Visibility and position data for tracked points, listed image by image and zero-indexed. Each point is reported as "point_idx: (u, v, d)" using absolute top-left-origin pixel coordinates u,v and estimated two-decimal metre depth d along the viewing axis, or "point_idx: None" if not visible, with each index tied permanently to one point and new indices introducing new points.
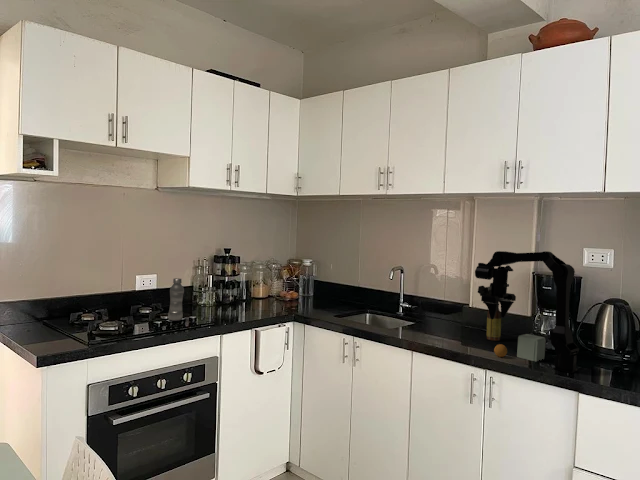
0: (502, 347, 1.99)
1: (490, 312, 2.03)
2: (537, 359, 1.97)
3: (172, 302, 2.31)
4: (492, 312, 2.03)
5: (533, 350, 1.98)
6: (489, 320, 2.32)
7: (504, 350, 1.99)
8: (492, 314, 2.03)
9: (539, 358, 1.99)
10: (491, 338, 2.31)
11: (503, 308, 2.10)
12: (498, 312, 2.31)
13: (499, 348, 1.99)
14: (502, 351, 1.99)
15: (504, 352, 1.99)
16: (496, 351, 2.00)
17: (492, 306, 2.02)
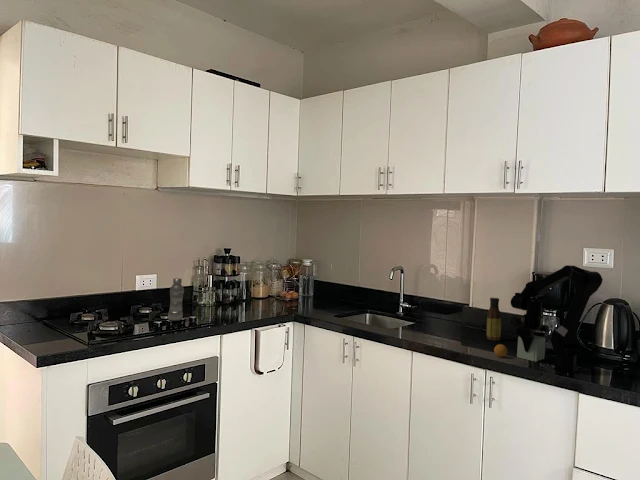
0: (502, 347, 1.99)
1: (525, 345, 1.99)
2: (537, 359, 1.97)
3: (172, 302, 2.31)
4: (527, 345, 1.98)
5: (533, 350, 1.98)
6: (489, 320, 2.32)
7: (504, 350, 1.99)
8: (527, 347, 1.98)
9: (539, 358, 1.99)
10: (491, 338, 2.31)
11: None
12: (498, 312, 2.31)
13: (499, 348, 1.99)
14: (502, 351, 1.99)
15: (504, 352, 1.99)
16: (496, 351, 2.00)
17: (527, 339, 1.98)
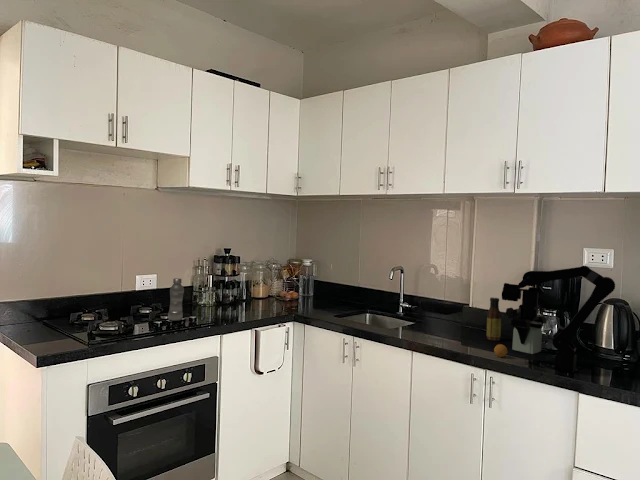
0: (502, 347, 1.99)
1: (520, 336, 1.90)
2: (533, 351, 1.89)
3: (172, 302, 2.31)
4: (523, 336, 1.89)
5: (529, 342, 1.89)
6: (489, 320, 2.32)
7: (504, 350, 1.99)
8: (523, 339, 1.90)
9: (535, 350, 1.90)
10: (491, 338, 2.31)
11: None
12: (498, 312, 2.31)
13: (499, 348, 1.99)
14: (502, 351, 1.99)
15: (504, 352, 1.99)
16: (496, 351, 2.00)
17: (523, 330, 1.89)
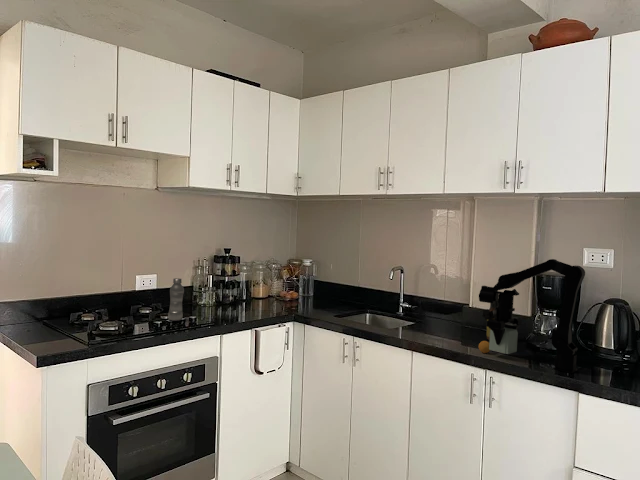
0: (479, 348, 2.07)
1: (496, 337, 1.97)
2: (509, 351, 1.96)
3: (172, 302, 2.31)
4: (498, 337, 1.97)
5: (504, 342, 1.96)
6: None
7: None
8: (498, 339, 1.97)
9: (511, 351, 1.97)
10: None
11: None
12: None
13: (480, 349, 2.06)
14: (479, 345, 2.06)
15: (479, 343, 2.07)
16: (483, 348, 2.04)
17: (498, 331, 1.96)
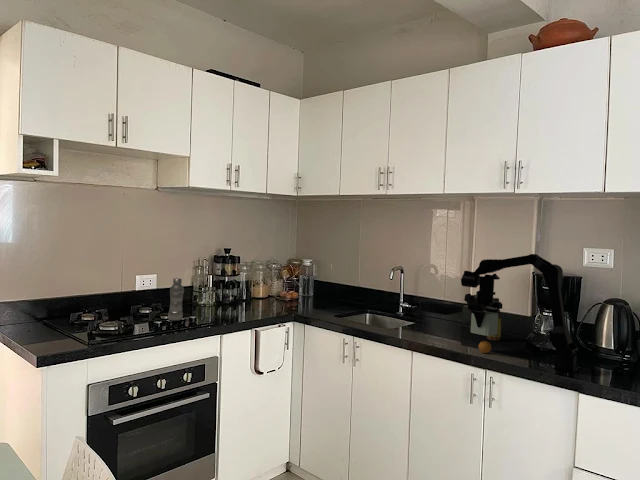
0: (479, 348, 2.07)
1: (477, 320, 2.04)
2: (489, 334, 2.02)
3: (172, 302, 2.31)
4: (479, 320, 2.03)
5: (485, 325, 2.02)
6: None
7: None
8: (479, 322, 2.03)
9: (491, 333, 2.03)
10: (491, 338, 2.31)
11: None
12: (498, 312, 2.31)
13: (480, 349, 2.06)
14: (479, 345, 2.06)
15: (479, 343, 2.07)
16: (483, 348, 2.04)
17: (479, 314, 2.03)
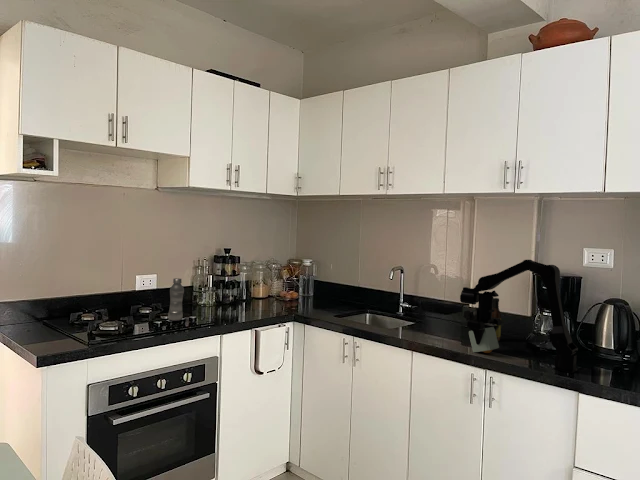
0: None
1: (476, 337, 2.04)
2: (491, 348, 2.01)
3: (172, 302, 2.31)
4: (478, 337, 2.03)
5: (484, 340, 2.02)
6: None
7: None
8: (478, 339, 2.03)
9: (493, 347, 2.03)
10: None
11: None
12: (498, 312, 2.31)
13: None
14: None
15: None
16: None
17: (478, 331, 2.03)
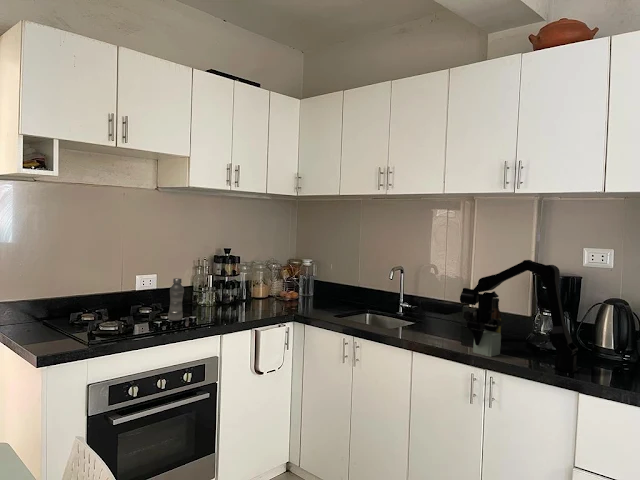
0: None
1: (475, 338, 2.03)
2: (492, 354, 2.01)
3: (172, 302, 2.31)
4: (477, 338, 2.03)
5: (488, 345, 2.01)
6: None
7: None
8: (477, 340, 2.03)
9: (494, 353, 2.02)
10: None
11: None
12: (498, 312, 2.31)
13: None
14: None
15: None
16: None
17: (477, 332, 2.03)
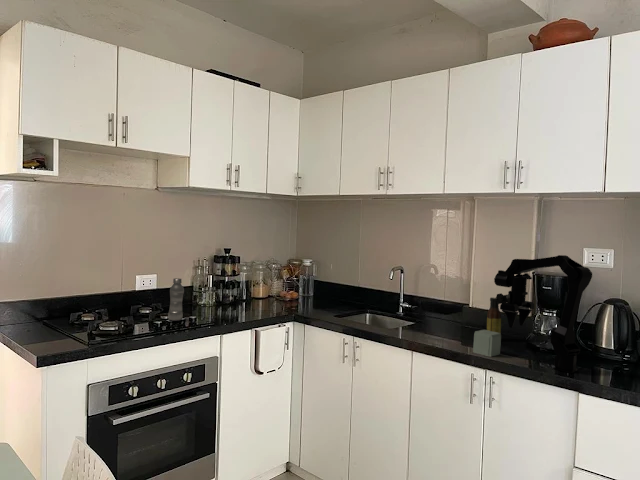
0: None
1: (509, 320, 2.01)
2: (492, 354, 2.01)
3: (172, 302, 2.31)
4: (511, 320, 2.01)
5: (488, 345, 2.01)
6: (489, 320, 2.32)
7: None
8: (511, 322, 2.01)
9: (494, 353, 2.02)
10: None
11: (522, 316, 2.08)
12: (498, 312, 2.31)
13: None
14: None
15: None
16: None
17: (511, 314, 2.01)
